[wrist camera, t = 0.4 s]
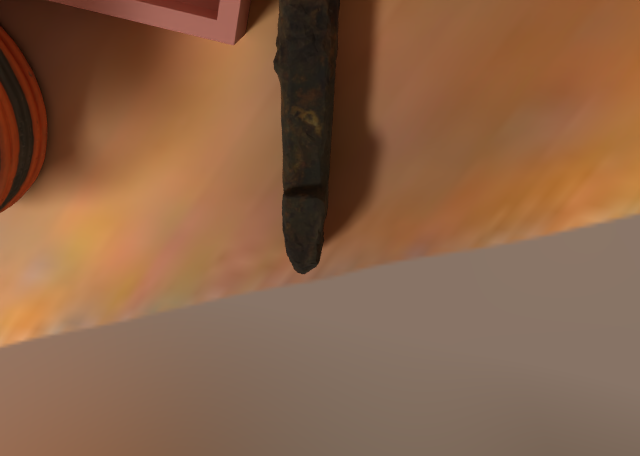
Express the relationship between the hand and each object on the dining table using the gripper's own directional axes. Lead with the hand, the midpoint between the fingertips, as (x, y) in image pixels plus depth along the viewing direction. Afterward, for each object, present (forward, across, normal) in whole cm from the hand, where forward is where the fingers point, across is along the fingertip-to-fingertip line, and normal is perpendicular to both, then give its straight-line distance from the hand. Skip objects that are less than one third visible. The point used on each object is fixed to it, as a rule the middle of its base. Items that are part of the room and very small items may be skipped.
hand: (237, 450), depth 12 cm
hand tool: (+26, 0, 0) cm, 26 cm away
